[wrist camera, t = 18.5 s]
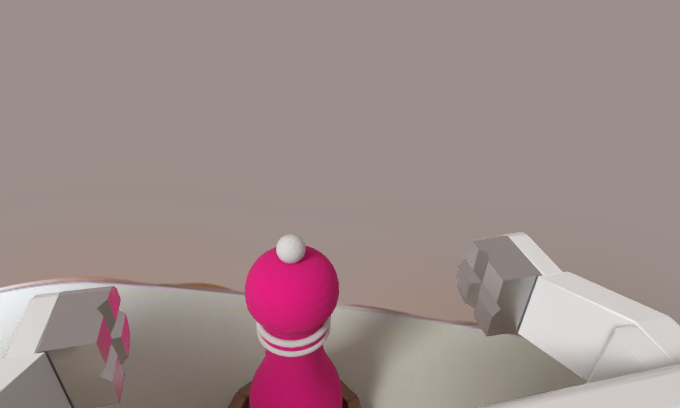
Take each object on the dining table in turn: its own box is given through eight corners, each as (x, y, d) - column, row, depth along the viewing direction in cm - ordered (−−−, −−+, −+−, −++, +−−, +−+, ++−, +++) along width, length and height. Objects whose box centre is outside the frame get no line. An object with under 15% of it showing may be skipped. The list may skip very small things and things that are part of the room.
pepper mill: (239, 461, 36) (206, 266, 25) (270, 383, 42) (254, 197, 31) (329, 483, 35) (337, 289, 24) (348, 399, 41) (360, 212, 30)
